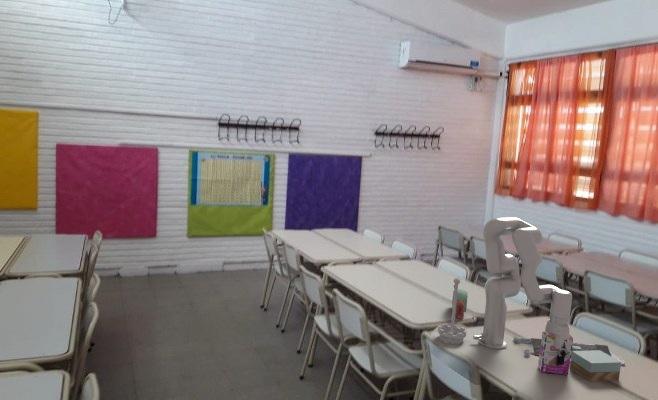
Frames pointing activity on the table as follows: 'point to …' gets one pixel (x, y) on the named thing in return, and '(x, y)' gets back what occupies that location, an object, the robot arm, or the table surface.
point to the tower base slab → (594, 376)
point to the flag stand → (452, 324)
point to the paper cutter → (575, 347)
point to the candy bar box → (552, 356)
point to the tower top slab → (595, 361)
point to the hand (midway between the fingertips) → (554, 360)
